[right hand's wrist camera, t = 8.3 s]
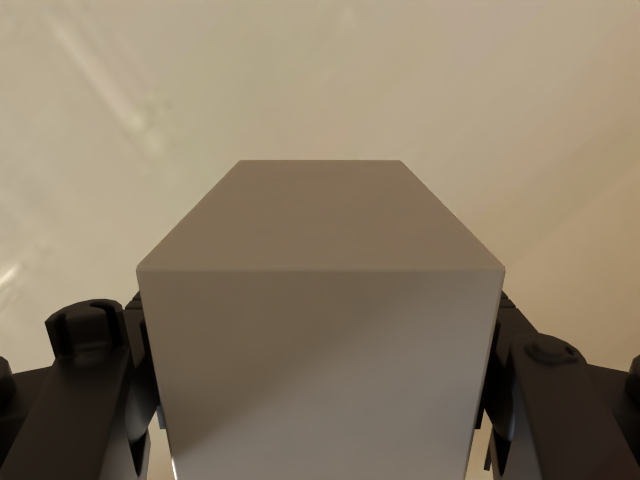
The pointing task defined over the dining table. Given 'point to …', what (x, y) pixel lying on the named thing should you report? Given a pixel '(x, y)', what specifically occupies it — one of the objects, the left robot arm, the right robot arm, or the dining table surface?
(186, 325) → the bar
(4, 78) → the dining table surface
